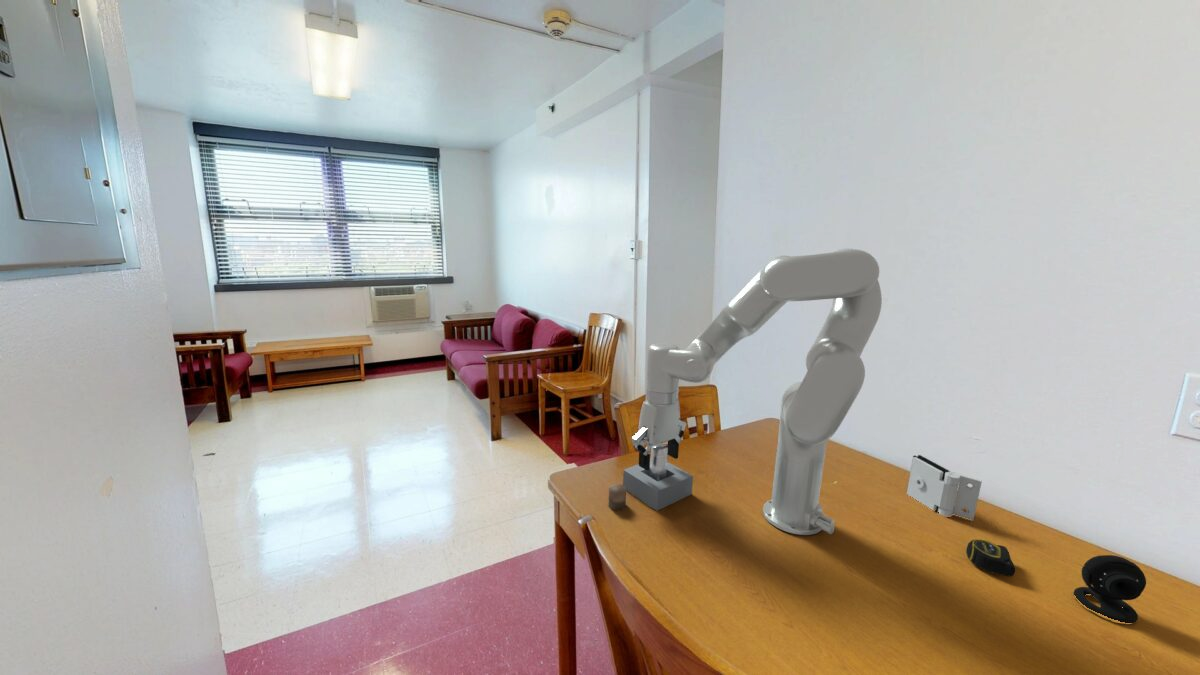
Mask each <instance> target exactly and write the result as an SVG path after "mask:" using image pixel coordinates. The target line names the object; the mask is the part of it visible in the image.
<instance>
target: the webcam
mask: <svg viewBox="0 0 1200 675" xmlns="http://www.w3.org/2000/svg"><path fill="white" fill-rule="evenodd" d="M1081 577H1082V580H1083V582H1084V584H1085V585H1086V586H1080V587H1076V588H1074V591H1073V596H1074V595H1075V596H1076V598H1077V599H1078V600H1079V601H1080V602H1081V603H1082V604H1083V605H1085V606H1086V607H1087V608H1089V609H1091V610H1093V611H1095V612H1097V613H1100V614H1102V615H1104V616H1107V617H1108V618H1111V619H1114V620H1118V621H1120V622H1125V623H1133V624H1135V623H1137V622H1138V620H1139V615H1138V613H1137V611H1136V610H1135V609H1134V608H1133V607H1132V606H1131V605H1130V604H1129V603H1127V602H1126V601H1132V600H1135V599H1138V598H1139V597H1141V595H1142V593H1143V592H1144V590H1145V588H1146V586H1147V578H1146V576H1145V573H1144V572H1143V571H1142V570H1141V568H1140V567H1139V566H1138V565H1137V564H1136V563H1134V562H1132V561H1130V560H1129V559H1127V558H1125V557H1122V556H1118V555H1111V554H1103V555H1102V554H1101V555H1100V554H1099V555H1096V556H1093V557H1091V558H1089V559H1088V560H1086V562H1085V563H1084V564H1083V566H1082V568H1081ZM1086 594H1091V595H1092V596H1094V597H1093V598H1095V599H1096V601H1097V602H1098V603H1099V605H1100V606H1099V605H1096V604H1094V603H1093V602H1091V601H1090V600H1089V599H1087V596H1085V595H1086ZM1092 596H1091V597H1092ZM1122 607H1123V608H1122ZM1136 621H1137V622H1136ZM1134 622H1135V623H1134Z"/></svg>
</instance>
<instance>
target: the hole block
mask: <svg viewBox="0 0 1200 675" xmlns="http://www.w3.org/2000/svg"><path fill="white" fill-rule="evenodd" d="M650 464H651V459H650ZM622 473H623V474H622V485H624V486H625V487H626V492H628V493H629V494H631V495H632V496H634V497H635V498H637V499H638V500H639V501H641V502H643V503H644V504H645V505H647V506H648V507H650V508H652V509H653V510H654V511H659V510H661V509H664V508H666V507H669V505H673V504H675V503H676V502H678V501H680V500H683V499H685V498H687V497H689V496H691V495H692V494H693V482H694V481H693V480H694V476H693V474H691V473H689V472H687V471H685V470H683V469H682V468H680V467H678V466H676V465H674V464H673V463H670V462H669V461H667V474H666V478H665V479H663V480H660V481H656V480H654V479H653V478H651V477H650V469H649V470H645V469H644V468H642V467H640V466H639V463H638V464H635V465H632V466H630V467H628V468H625V469H623V472H622Z"/></svg>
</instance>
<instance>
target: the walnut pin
mask: <svg viewBox="0 0 1200 675" xmlns="http://www.w3.org/2000/svg"><path fill="white" fill-rule="evenodd" d="M626 503H627V491H626V487H625V486H624V485H623V483H622V484H621V483H613V484H611V485H609V487H608V508H609V509H610V510H613V511H615V512H616V511H617V512H618V511H623V510H624V509H626V508H627V507H626V506H627V504H626Z"/></svg>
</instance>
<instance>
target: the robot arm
mask: <svg viewBox="0 0 1200 675" xmlns="http://www.w3.org/2000/svg"><path fill="white" fill-rule="evenodd" d="M879 266H880V265H879V263H878V261H877V259H876V258H875V257H874V256H873V255H872V254H871V253H869V252H867V251H865V250H861V249H857V248H854V249H853V248H843V249H842V248H840V249H838V250H835V251H833V252H824V253H816V254H806V255H797V256H796V255H793V256H790V255H779V256H775V257H774V258H772V259H770V260H769V261H768V262H766V264H764V265H763V267H762V268H760V270H759V271H758V272H757V273H756V274H755V275H754V276H753V277H752V278H750V280H749V281H748V282H747V283H746V284H745V285H744V286H743V287H742V288H741V289H740V290H739V291H738V292H737V293H736V295H734V297H733V298H732V299H731V300H729V301H728V302H727V304H726V305H724V307H723V308H722V309H721V311H720V312H719V314H718V315H717V316H716V317H715V318H714V319H713V320H712V321H711V322H710V323H709V324H708V325H707V327H705V328H704V330H703V331H701V333H700V334H699V335H698V336H697V337H696V338H695V339H694V340H693V341H692V342H691V343H690V344H689V345H688V346H687V347H686V348H685V349H680V347H679V346H678V345H676V344H673V343H670V342H656V343H651V345H649V347H648V349H647V357H646V358H647V360H646V385H645V386H646V387H645V400H644V401H642V402H643V403H642V405H641V409H640V414H639V420H638V421H639V422H638V432H637V433H635V435H633V436H632V437H631V442H632V445H633V448H634V449H635V450H636V451H637V452H638V464H639V466H640V467H642V468H644V469H645V470H649V469H650V460H651V453H650V452H651V448H652V446H654V445H657V444H660V443H663V444H664V443H665V442H667V446H668V456H669V457H670V458H673V459H674V460H677V459H679V450H680V449H679V447H680V443H681V442H682V439H681V438H682V437H683V435H684V433H685V429H686V427H687V422H685V421H682V420H681V410H680V409H681V408H680V402H679V392H680V388H679V385H680V384H679V381H680V380H681V381H684V382H688V383H694V384H696V383H702V382H704V381H706V380H707V379H709V377H710V376H711V374H712V372H713V369H714V366H715V365H716V364H717V362H718V361H719V360H720V359H722V357H723V356H724V355H726V354H727V353H728V352H729V351H730V350H731V349H732V348H733V347H734V346H735V345H736V344H737V343H739V342H740V341H741V340H743V339H746V338H747V337H750V336H753V335H754V334H755V333H757V332H758V331H759V330H760V329H761V328H762V327H763V326H764V325H765V324H766V323H767V322H768V321H769V320H770V319H771V318H772V317H773V316H774V315H775V314H776V313H777V312H778V311H779V310H780V309H781V308H782V307H783V306H785V305H786V303H788V302H809V301H820V300H832V305H831V308H830V310H829V312H828V315H827V317H826V319H825V321H824V324H823V326H822V327H821V329H820V331H819V332H818V335H817V336H816V339H815V340H814V342H813V344H812V346H811V347H810V348H809V351H808V352H807V354H806V357H805V366H806V374H805V375H804V378H803V379H802V381H797V382H796V383H795V382H794V383H793V384H792V385H790V386H789V387H787V388H786V390H785V391H784V393H783V395H782V397H781V402H780V408H779V409H780V410H779V411H780V412H779V414H780V415H779V424H778V425H779V427H778V438H777V448H776V454H775V463H774V465H775V466H774V474H773V481H772V492H771V499H769V500H767V501H766V502H765V503H764V504H763V507H762V514H763V516H764V518H765V519H766V521H767V522H769V524H771V525H772V526H774V527H775V528H777V529H780V530H781V531H784V532H786V533H790V534H793V535H799V536H812V535H817V534H818V533H820V532H821V531H825V533H828V534H829V535H833V533H834V531H835V528H836V527H835V525H834V523H835V519H833V518H831V517H829V516H827V515H825V513H824V512H823V508H824V507H823V505H821V504H819V502H820V495H821V494H820V493H821V487H822V486H821V485H822V480H823V472H824V464H825V459H826V451H827V443H828V442H827V441H828V440H830V439H831V438H832V437H833V436H834V435H835V434H836V432H838V430H839V428H840V426H841V424H842V423H843V421H844V419H845V417H846V416H847V414H848V413H849V410H850V409H851V408H852V407H853V404H854V402H855V400H856V399H857V398H858V395H859V393H860V392H861V389H862V387H863V384H864V382H865V377H866V369H865V364H864V361H863V359H862V358H861V356H862V354H863V352H864V349H865V347H866V345H867V343H868V342H869V340H870V337H871V335H872V333H873V331H874V330H875V327H876V325H877V323H878V320H879V318H880V315H881V309H882V303H883V302H882V291H881V286H880V282H879V277H880V267H879ZM645 445H646V446H645Z"/></svg>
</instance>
